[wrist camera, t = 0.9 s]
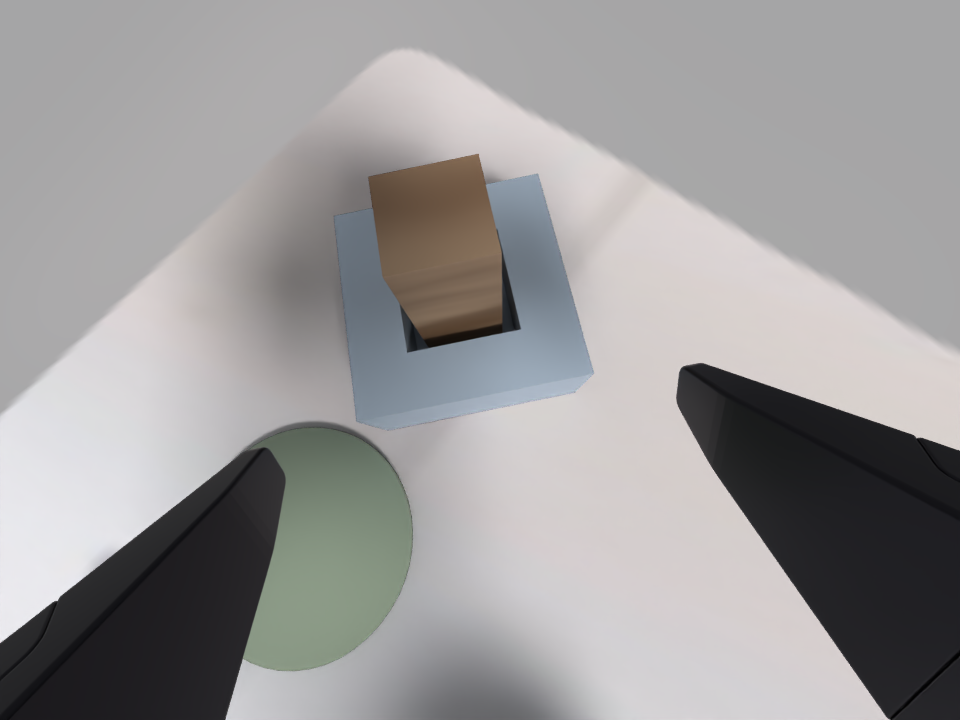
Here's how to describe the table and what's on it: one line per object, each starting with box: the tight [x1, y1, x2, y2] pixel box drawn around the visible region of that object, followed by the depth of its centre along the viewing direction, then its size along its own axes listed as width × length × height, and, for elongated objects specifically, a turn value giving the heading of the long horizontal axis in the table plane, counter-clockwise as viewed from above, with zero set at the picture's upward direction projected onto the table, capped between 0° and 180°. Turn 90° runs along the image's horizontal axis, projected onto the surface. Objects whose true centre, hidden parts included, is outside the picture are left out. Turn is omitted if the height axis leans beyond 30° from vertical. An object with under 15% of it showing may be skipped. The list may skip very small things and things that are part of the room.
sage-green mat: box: [243, 428, 413, 671], centre depth 21 cm, size 12×12×1 cm
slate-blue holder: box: [334, 174, 594, 430], centre depth 22 cm, size 11×11×5 cm
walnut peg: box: [368, 154, 502, 348], centre depth 18 cm, size 4×4×9 cm
